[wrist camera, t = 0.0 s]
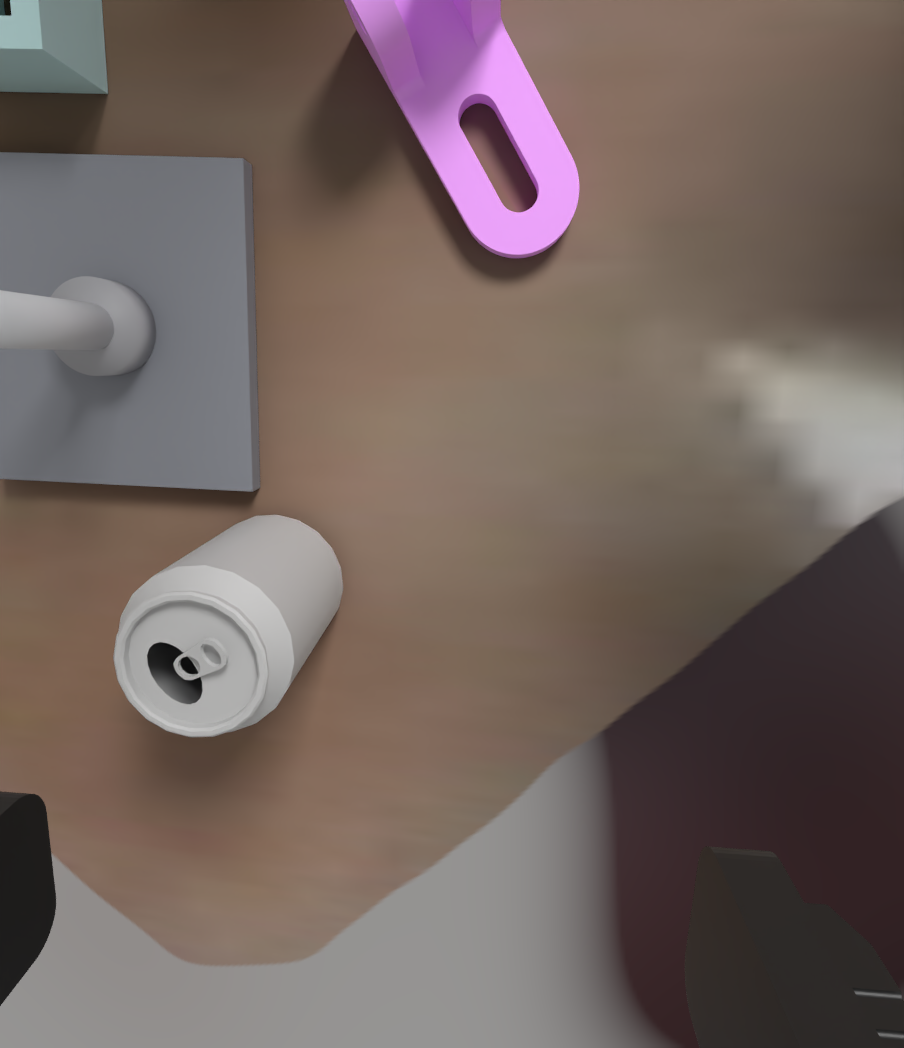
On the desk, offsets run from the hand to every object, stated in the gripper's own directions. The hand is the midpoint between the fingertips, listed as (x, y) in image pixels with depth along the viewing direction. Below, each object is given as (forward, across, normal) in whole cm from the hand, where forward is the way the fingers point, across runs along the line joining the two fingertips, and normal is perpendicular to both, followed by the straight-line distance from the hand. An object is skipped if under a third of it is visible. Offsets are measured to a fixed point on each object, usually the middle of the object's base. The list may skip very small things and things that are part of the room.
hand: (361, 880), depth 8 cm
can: (+30, +10, +6) cm, 32 cm away
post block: (+29, +18, -7) cm, 35 cm away
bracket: (+30, 0, -17) cm, 34 cm away
